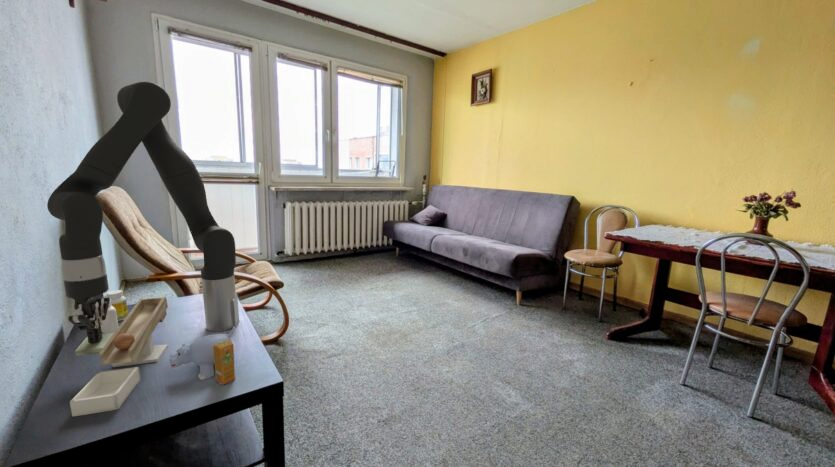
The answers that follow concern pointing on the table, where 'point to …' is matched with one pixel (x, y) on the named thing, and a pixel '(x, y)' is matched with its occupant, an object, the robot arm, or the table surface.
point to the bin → (105, 391)
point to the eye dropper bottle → (110, 320)
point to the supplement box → (224, 362)
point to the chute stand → (147, 354)
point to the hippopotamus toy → (200, 353)
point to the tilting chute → (135, 323)
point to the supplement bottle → (118, 304)
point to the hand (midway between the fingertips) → (95, 341)
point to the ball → (124, 341)
